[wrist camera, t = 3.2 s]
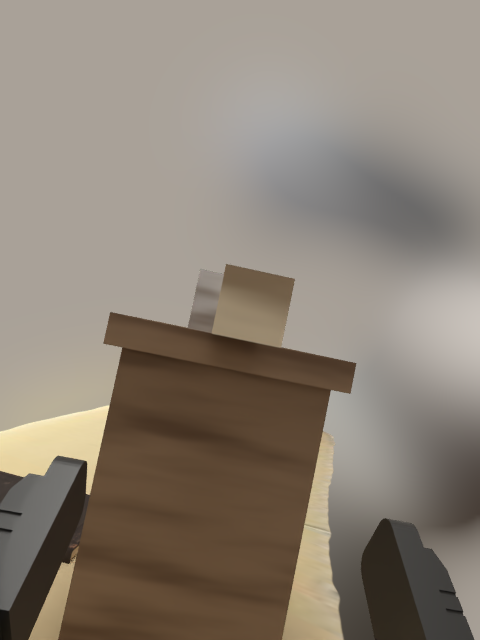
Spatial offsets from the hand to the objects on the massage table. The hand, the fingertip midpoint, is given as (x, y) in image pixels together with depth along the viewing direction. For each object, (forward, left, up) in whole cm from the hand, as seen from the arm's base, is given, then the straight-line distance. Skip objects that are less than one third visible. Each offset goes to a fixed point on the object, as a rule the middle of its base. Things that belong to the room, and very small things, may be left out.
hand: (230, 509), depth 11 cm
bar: (-11, +19, +5) cm, 23 cm away
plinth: (-14, +24, -28) cm, 39 cm away
